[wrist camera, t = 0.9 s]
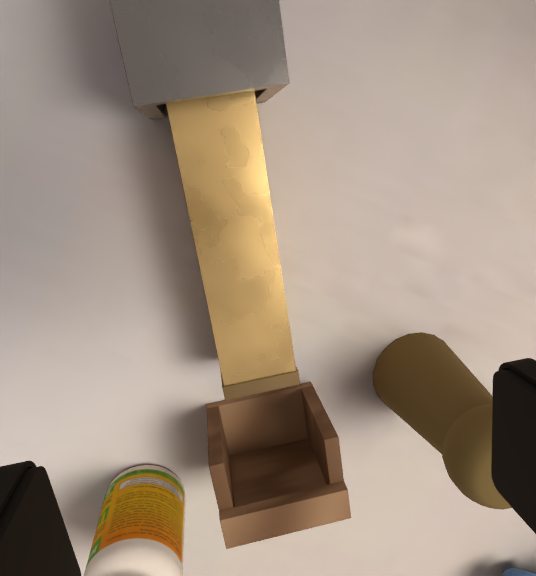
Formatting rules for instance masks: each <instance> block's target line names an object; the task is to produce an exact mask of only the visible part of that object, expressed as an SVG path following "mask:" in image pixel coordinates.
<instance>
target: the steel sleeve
mask: <svg viewBox="0 0 536 576" xmlns="http://www.w3.org/2000/svg"><path fill="white" fill-rule="evenodd" d="M110 4H111V9H112V13H113V18H114V22H115V26H116V31H117V35H118V40H119V44H120V48H121V53H122V57H123V62H124V66H125V71H126V75H127V79H128V84H129V88H130V93H131V97H132V101H133V106H134V107H135V108H137V109H138V110H139V111H141V112H142V113H143V114H144V115H146V116H147V117H148V118H150V119H156V118H162V117H169V115H168V110H167V106H166V104H167V103H174V102H181V101H187V100H194V99H201V98H208V97H214V96H221V95H228V94H235V93H242V92H248V91H255V97H256V103H262V102H266V101H267V100H268V99H270V98H271V97H272V96H273V95H275V94H276V93H277V92H279V91H280V90H281V89H282V88H284V87H285V86H286V85H288V84H289V77H288V69H287V61H286V53H285V45H284V37H283V30H282V22H281V14H280V6H279V0H110Z"/></svg>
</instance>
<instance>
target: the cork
mask: <svg viewBox="0 0 536 576" xmlns="http://www.w3.org/2000/svg"><path fill="white" fill-rule="evenodd" d="M373 384H374V387H375V390H376V393H377V395H378V396H379V397H380V398H381V400H382V401H383V402H384V403H385V404H386V405H387V406H388V407H389V408H391V409H392V410H393V411H394V412H395V413H396V414H397V415H398V416H400V417H401V418H402V419H403V420H404V421H405V422H406V423H407V424H409V425H410V426H411V427H412V428H413V429H414V430H415V431H416V432H418V433H419V434H420V435H421V436H422V437H423V438H424V439H425V440H427V441H428V442H429V443H430V444H431V445H432V446H433V447H434V448H436V449H437V450H438V451H439V452H440V453H441V454H442V455H443V456H442V457H443V460H444V464H445V467H446V469H447V472H448V475H449V477H450V478H451V480H452V481H453V482H454V484H455V485H456V486H457V487H458V489H459V490H460V491H461V492H462V493H463V494H464V495H465V496H466V497H468V498H469V499H471V500H472V501H474V502H476V503H478V504H480V505H482V506H486V507H489V508H495V509H507V508H512V507H511V506H510V505H509V503H508V502H507V501H506V500H505V499H504V498H503V497H502V496H501V495H500V493H499V492H498V491H497V489H496V488H495V486H494V483H493V480H492V476H491V460H492V406H493V396H492V395H491V394H490V393H489V392H488V391H487V390H486V388H485V387H484V386H483V385H482V384H481V383H480V382H479V381H478V379H477V378H476V377H475V376H474V375H473V374H472V373H471V371H470V370H469V369H468V368H467V367H466V366H465V365H464V364H463V362H462V361H461V360H460V359H459V358H458V357H457V356H456V354H455V353H454V352H453V351H452V350H451V349H450V348H449V347H448V345H447V344H446V343H445V342H444V341H443V340H441V339H439V338H438V337H436V336H435V335H431V334H426V333H414V334H408V335H406V336H403V337H401V338H399V339H396V340H395V341H394V342H393V343H391V344H390V345H389V346H388V347H386V348H385V350H384V351H383V352H382V354H381V355H380V357H379V358H378V360H377V362H376V365H375V368H374V371H373Z"/></svg>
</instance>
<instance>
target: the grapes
mask: <svg viewBox="0 0 536 576" xmlns="http://www.w3.org/2000/svg"><path fill="white" fill-rule="evenodd" d="M502 576H536V574H535V573H532V572H529V571H526V570H523V569H519V568H511V567H510V568H508V569H507V570H505V571H503V573H502Z"/></svg>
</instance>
